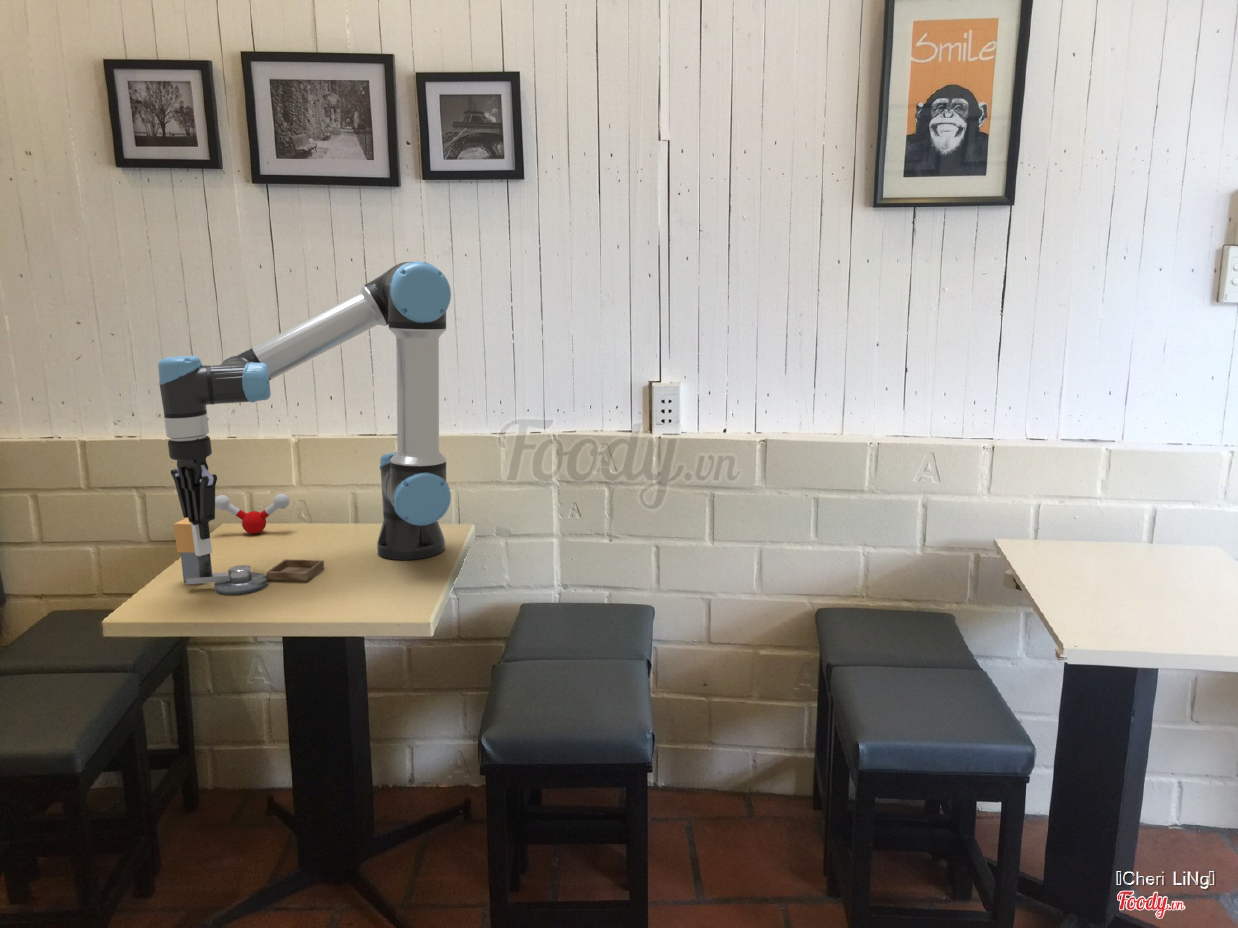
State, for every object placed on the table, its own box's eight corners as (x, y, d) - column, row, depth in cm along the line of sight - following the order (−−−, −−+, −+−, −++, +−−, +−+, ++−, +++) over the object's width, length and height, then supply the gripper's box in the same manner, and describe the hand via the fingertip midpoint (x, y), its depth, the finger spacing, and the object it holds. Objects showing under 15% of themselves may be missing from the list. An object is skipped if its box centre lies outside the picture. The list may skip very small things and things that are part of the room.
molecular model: (214, 539, 225) (210, 499, 223) (219, 532, 230) (215, 493, 228) (291, 534, 228) (287, 494, 226) (293, 528, 234) (290, 489, 232)
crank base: (276, 579, 196) (275, 572, 196) (253, 596, 186) (252, 588, 186) (228, 578, 197) (227, 570, 197) (203, 594, 187) (202, 586, 187)
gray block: (209, 579, 196) (206, 547, 195) (202, 583, 194) (198, 551, 192) (191, 578, 197) (188, 546, 195) (183, 583, 194) (180, 551, 192)
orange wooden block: (209, 546, 196) (206, 518, 194) (197, 552, 191) (194, 524, 190) (189, 545, 196) (186, 517, 195) (177, 552, 192) (173, 523, 190)
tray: (324, 569, 202) (323, 560, 202) (307, 582, 194) (306, 573, 194) (285, 568, 203) (284, 559, 203) (266, 581, 195) (266, 572, 194)
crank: (253, 575, 194) (250, 538, 192) (250, 582, 190) (246, 545, 188) (190, 580, 191) (186, 543, 190) (185, 587, 187) (181, 549, 185)
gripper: (225, 436, 180) (239, 554, 185) (189, 430, 187) (204, 543, 193) (187, 443, 174) (203, 564, 179) (152, 437, 182) (168, 553, 187)
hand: (203, 553), depth 186 cm, fingers closed
